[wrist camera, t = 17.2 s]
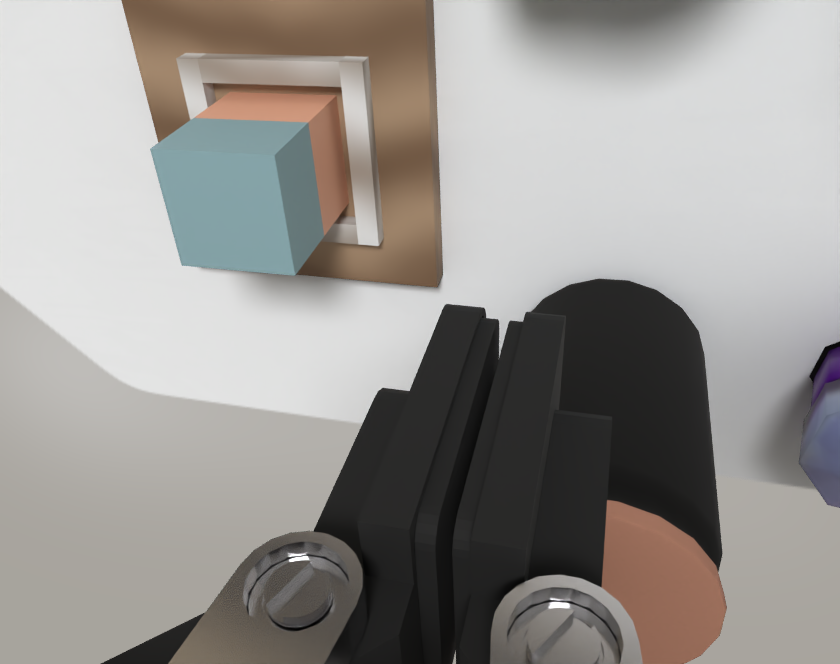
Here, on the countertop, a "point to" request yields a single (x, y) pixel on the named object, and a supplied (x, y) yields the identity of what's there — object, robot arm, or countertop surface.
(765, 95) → the countertop surface
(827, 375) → the potion bottle
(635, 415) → the coffee jar
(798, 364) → the countertop surface
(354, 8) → the walnut board
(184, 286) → the countertop surface
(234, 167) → the teal and orange block
